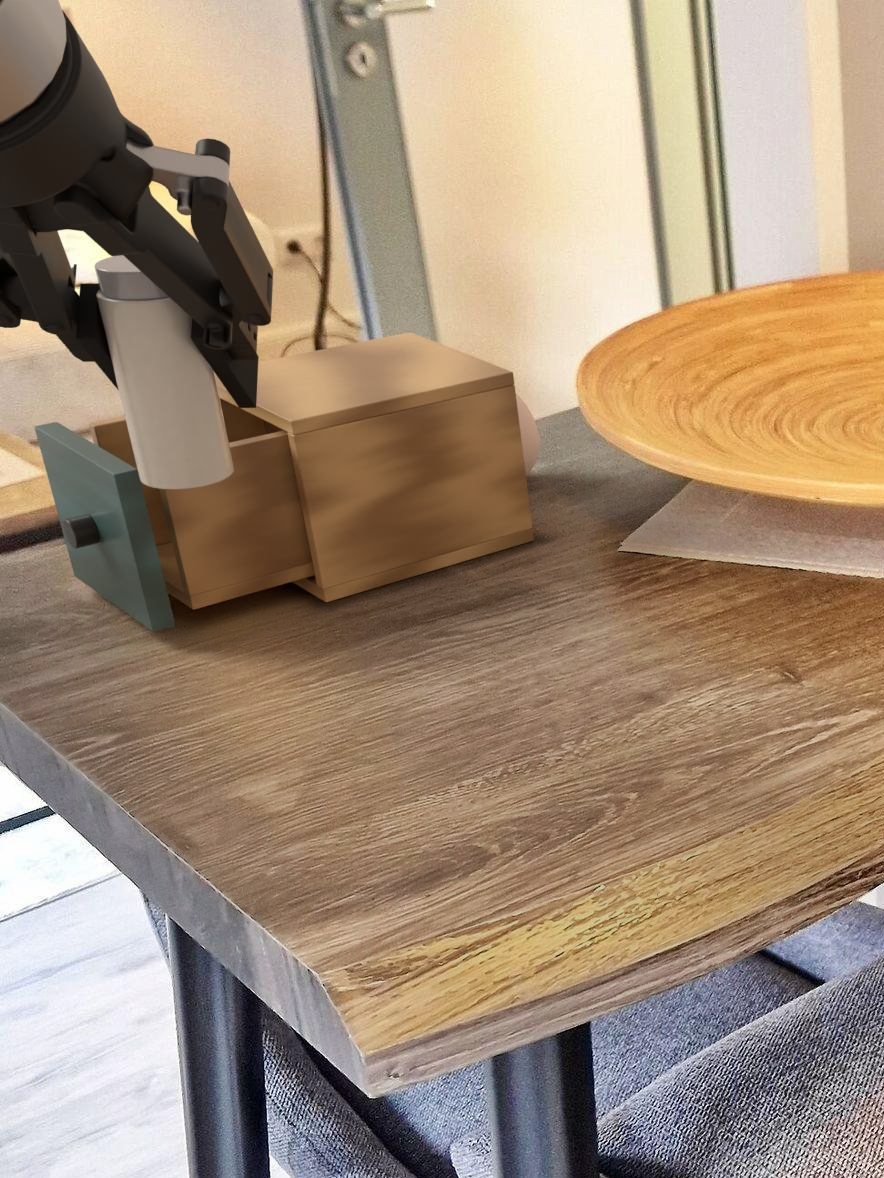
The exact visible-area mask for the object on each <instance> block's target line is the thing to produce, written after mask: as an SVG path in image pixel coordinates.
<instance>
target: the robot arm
mask: <svg viewBox="0 0 884 1178" xmlns="http://www.w3.org/2000/svg"><path fill="white" fill-rule="evenodd" d="M230 166H231V148H230V146H228V145H227V144H226V143H225V142H223V141H221V140H219V139H216V138H201V139H199V140H197V142H196V144H195V151H194V153H189V152H184V151H181V150H176V149H171V148H166V147H162V146H157V145H156V146H155V144H154V142H153V140H152V138H151V137H150V135H149V134H148V133H147V132H146V131H145V130H144V129H143V128H142V127H140V126H138V125H136V124H135V123H133V122H132V121H131V120H129V119H128V118H126V116H124V115H123V114H122V113H121V110H120V108H119V106H118V104H117V101H116V99H115V97H114V94H113V92H112V89H111V87H110V86H109V83H108V81H107V79H106V77H105V75H104V73H103V72H102V70H101V69H100V67H99V65H98V63H97V62H96V60H95V59H94V57H93V55H92V54H91V52H90V51H89V49H88V47H87V46H86V44H85V43H84V41H83V39H82V37H81V36H80V34H79V32H78V31H77V30H76V27H75V26H74V25H73V23H72V21H71V20H70V18H69V17H68V16H67V14H66V13H65V11H64V9H62V6H61V3H60V1H59V0H0V328H4V329H13V328H14V329H15V328H18V327H20V325H21V323H22V320H23V321H28V322H29V321H30V322H33V323H34V322H36V323H38V325H39V327H40V329H41V330H42V331H44V332H46V333H48V334H51V335H55V336H56V337H57V338H58V340H59V341H60V342H61V343H62V344H63V345H64V346H65V348H66V349H67V350H68V351H69V352H70V353H71V355H72V356H73V357H75V358H76V359H78V360H79V361H81V362H83V363H95V364H96V365H97V367H98V368H99V369H100V370H101V371H102V373H103V374H104V375H105V376H106V378H107V379H108V380H109V381H110V382H111V383H112V385H113V386H114V387H115V388H116V389H117V391H118V392H119V389H118V385H117V381H116V377H115V373H114V368H113V364H112V360H111V356H110V352H109V348H108V343H107V339H106V335H105V331H104V327H103V322H102V318H101V314H100V310H99V306H98V301H97V297H96V294H97V292H98V291H99V290H100V288H99V283H98V282H96V283H93V282H92V283H91V282H90V283H84V282H83V283H82V282H81V283H80V284H79V293H78V292H77V291H76V281H77V269H78V264H76V263H75V264H73V266H72V267H71V263H70V261H69V258H68V255H67V253H66V250H65V248H64V245H63V242H62V239H61V236H60V234H59V231H65V230H68V231H69V230H70V231H77V232H83V233H85V234H86V235H87V236H88V237H89V238H90V239H91V240H92V241H93V242H95V243H96V244H97V245H98V246H99V247H100V248H101V249H102V250H104V252H106V253H107V254H108V256H110V257H113V256H120V255H123V256H125V257H126V258H127V259H128V260H129V261H130V262H131V263H132V264H133V265H134V266H136V267H137V268H138V269H139V270H140V271H141V272H142V273H143V274H144V275H145V276H147V277H148V278H149V279H150V280H151V281H152V282H153V283H154V284H155V285H156V286H158V287H159V288H160V289H161V290H162V291H163V292H164V293H165V294H166V295H167V296H169V297H170V298H171V299H172V300H173V301H174V302H175V303H176V304H177V305H178V306H180V307H181V308H182V309H183V310H184V311H185V312H186V313H187V314H188V315H189V316H191V317H192V327H191V339H192V341H193V342H194V344H195V345H196V346H197V348H198V349H199V351H200V352H201V354H202V355H203V357H204V358H205V359H206V361H207V362H208V363H209V364H210V366H211V367H212V369H213V371H214V372H215V374H216V375H217V377H218V378H219V379H220V381H221V382H222V384H223V385H224V387H225V388H226V389H227V391H228V392H229V394H230V395H231V397H232V398H233V399H234V401H235V402H236V404H237V405H238V407H239V408H256V401H257V380H258V362H259V357H260V356H259V354H258V353H257V352H258V331H259V327H263V326H264V327H265V326H267V325H270V324H271V323H272V311H273V309H272V308H273V291H274V289H273V288H274V287H273V286H274V269H273V267H272V264H271V263H270V261H269V259H268V257H267V254H266V253H265V251H264V248H263V247H262V244H261V243H260V240H259V238H258V236H257V234H256V232H255V230H254V228H253V226H252V224H251V222H250V220H249V218H248V216H247V214H246V212H245V210H244V207H243V206H242V204H241V202H240V200H239V198H238V195H237V194H236V192H235V189H234V187H233V185H232V184H231V181H230V168H231V167H230ZM152 182H155V183H157V184H159V185H161V186H163V187H165V189H167V191H168V193H169V196H170V197H171V198H173V199H174V200H176V211H177V212H178V213H179V214H181V215H183V216H188V217H189V216H190V226H191V229H192V232H193V234H194V236H193V235H192V234H191V233H190V232H189V231H188V230H187V229H186V227H184V226H183V225H182V224H181V223H180V222H179V221H178V220H177V219H176V218H175V217H174V216H173V215H172V214H171V213H170V211H168V210H167V209H166V208H165V207H164V206H163V205H162V204H161V203H160V202H159V201H158V200H157V199H156V198H155V197H154V196H153V194H152V191H151V188H150V185H151V183H152Z"/></svg>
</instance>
